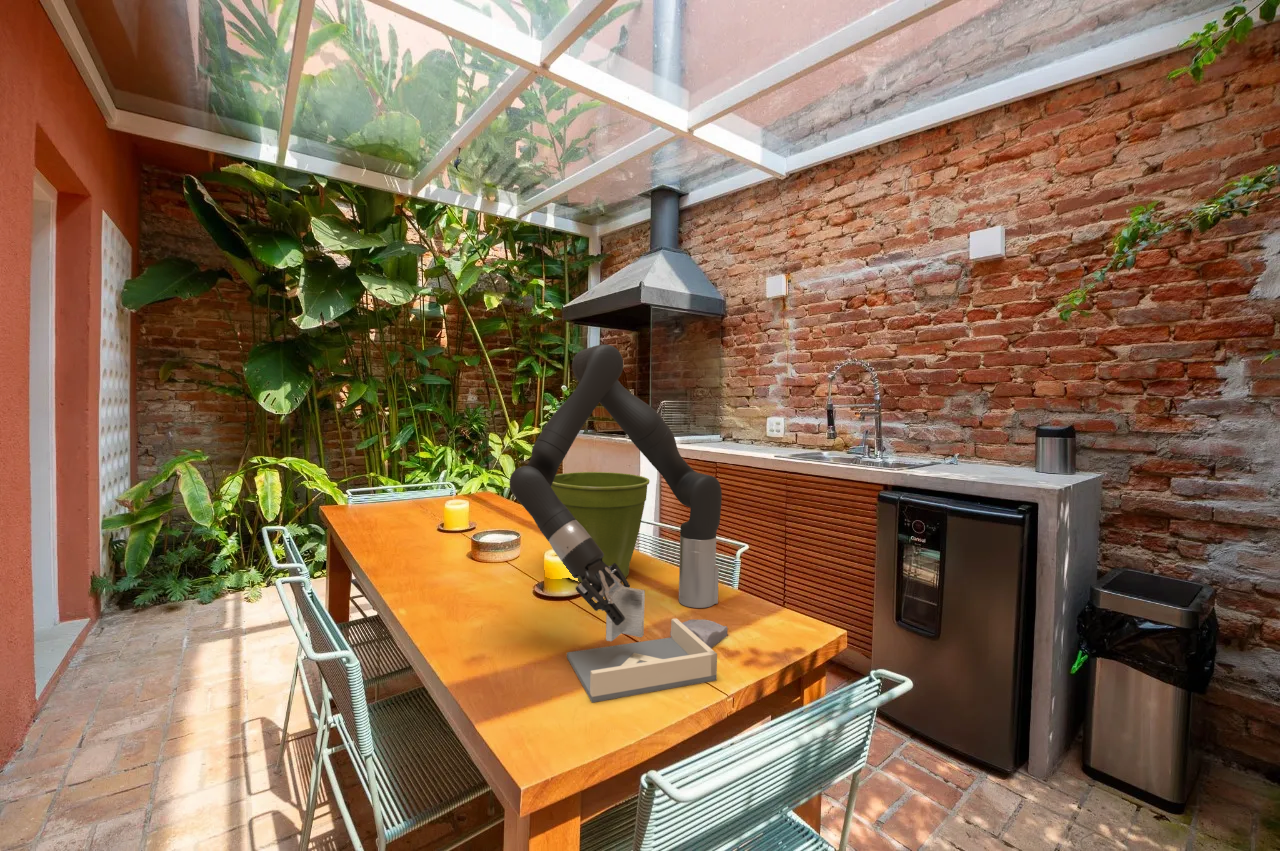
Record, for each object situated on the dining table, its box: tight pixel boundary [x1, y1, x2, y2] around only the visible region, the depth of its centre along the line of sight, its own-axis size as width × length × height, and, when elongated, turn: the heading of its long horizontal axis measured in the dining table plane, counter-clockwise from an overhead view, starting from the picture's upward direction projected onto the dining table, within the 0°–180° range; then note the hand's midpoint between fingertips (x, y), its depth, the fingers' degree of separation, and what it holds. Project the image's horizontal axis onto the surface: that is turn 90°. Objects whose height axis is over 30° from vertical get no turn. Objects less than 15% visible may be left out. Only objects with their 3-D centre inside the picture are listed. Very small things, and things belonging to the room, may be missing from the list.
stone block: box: [669, 618, 729, 649], centre depth 124 cm, size 12×5×10 cm
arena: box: [566, 618, 718, 703], centre depth 110 cm, size 24×18×5 cm
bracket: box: [605, 586, 646, 642], centre depth 110 cm, size 6×6×9 cm
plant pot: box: [551, 471, 651, 583], centre depth 166 cm, size 30×30×29 cm
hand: (628, 616), depth 110 cm, fingers closed on bracket, 5 cm apart
